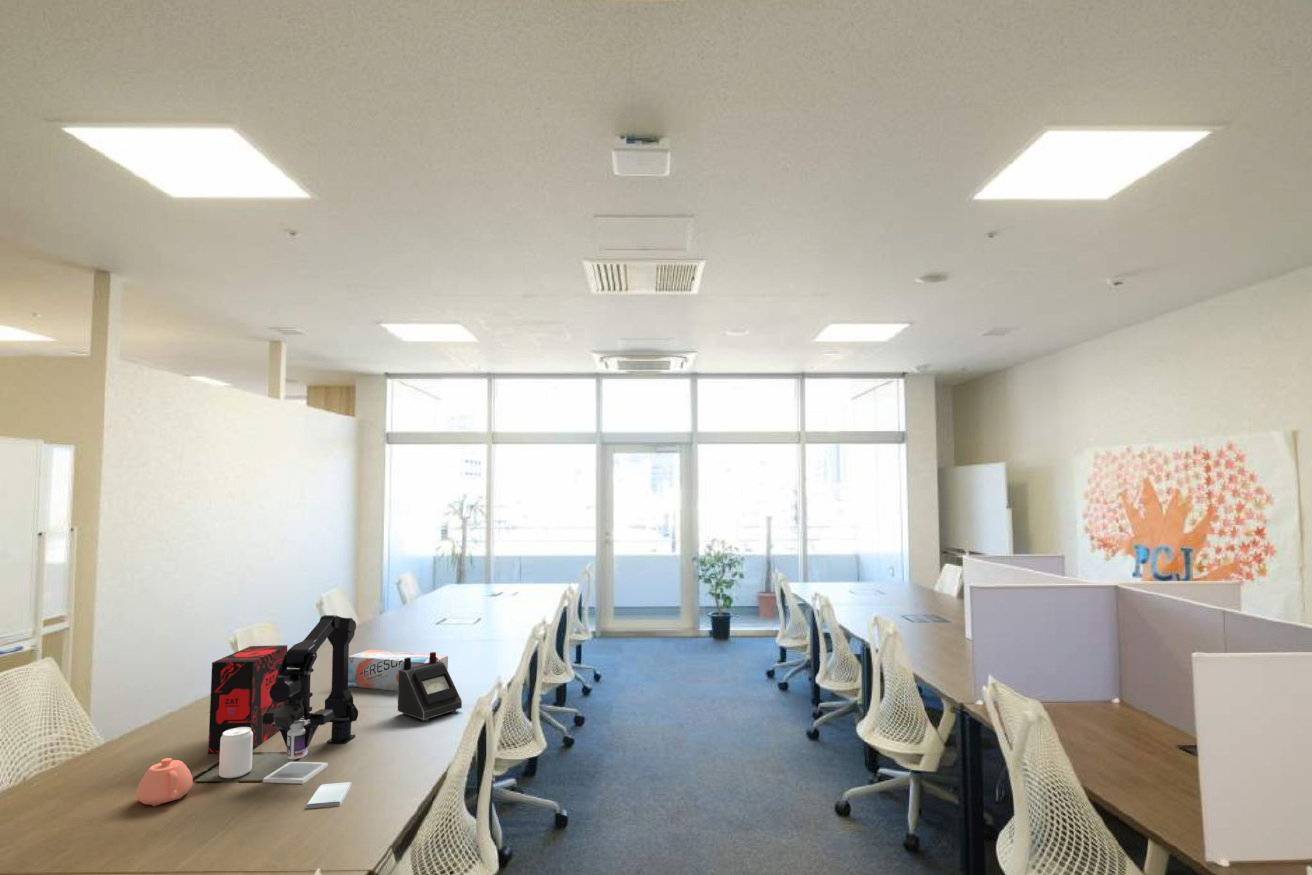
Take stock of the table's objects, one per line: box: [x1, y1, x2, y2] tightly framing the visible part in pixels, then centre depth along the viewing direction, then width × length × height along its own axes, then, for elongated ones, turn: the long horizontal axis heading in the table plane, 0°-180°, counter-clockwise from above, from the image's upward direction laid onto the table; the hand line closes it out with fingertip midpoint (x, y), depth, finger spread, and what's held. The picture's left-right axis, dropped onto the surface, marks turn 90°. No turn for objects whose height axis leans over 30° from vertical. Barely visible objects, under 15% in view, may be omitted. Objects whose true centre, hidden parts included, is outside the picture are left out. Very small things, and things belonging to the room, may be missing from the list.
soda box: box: [348, 649, 449, 692], centre depth 286 cm, size 41×14×13 cm, turn 74°
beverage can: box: [218, 727, 253, 779], centre depth 197 cm, size 8×8×12 cm
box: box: [207, 644, 288, 755], centre depth 225 cm, size 23×12×28 cm, turn 4°
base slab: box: [262, 761, 329, 785], centre depth 196 cm, size 12×12×1 cm
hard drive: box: [305, 781, 352, 809], centre depth 181 cm, size 2×8×12 cm
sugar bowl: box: [135, 757, 194, 807], centre depth 181 cm, size 12×14×10 cm
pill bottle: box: [286, 720, 309, 760], centre depth 197 cm, size 5×5×10 cm
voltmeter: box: [397, 651, 463, 723], centre depth 250 cm, size 16×16×20 cm
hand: (297, 746), depth 197 cm, fingers closed on pill bottle, 5 cm apart
